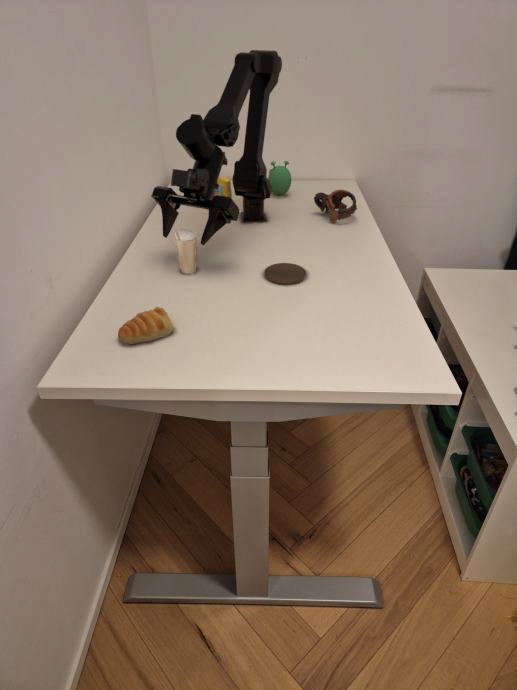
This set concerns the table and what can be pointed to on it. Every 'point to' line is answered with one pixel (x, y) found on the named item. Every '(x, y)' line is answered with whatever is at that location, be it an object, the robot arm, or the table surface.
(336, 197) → the brown coiled strap
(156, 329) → the pastry
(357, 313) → the table surface
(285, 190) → the alien toy
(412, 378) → the table surface
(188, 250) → the milkshake
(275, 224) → the table surface
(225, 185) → the candy box
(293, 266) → the coaster
